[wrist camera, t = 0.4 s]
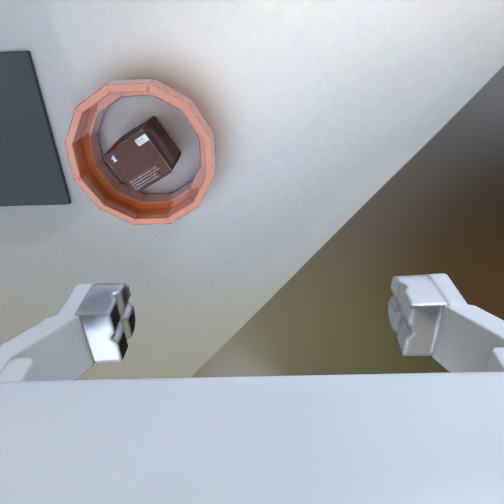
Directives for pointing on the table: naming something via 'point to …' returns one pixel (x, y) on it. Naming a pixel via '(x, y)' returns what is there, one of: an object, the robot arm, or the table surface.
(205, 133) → the ring
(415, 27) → the table surface
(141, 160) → the box
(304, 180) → the table surface
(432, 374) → the robot arm
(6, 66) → the mat
